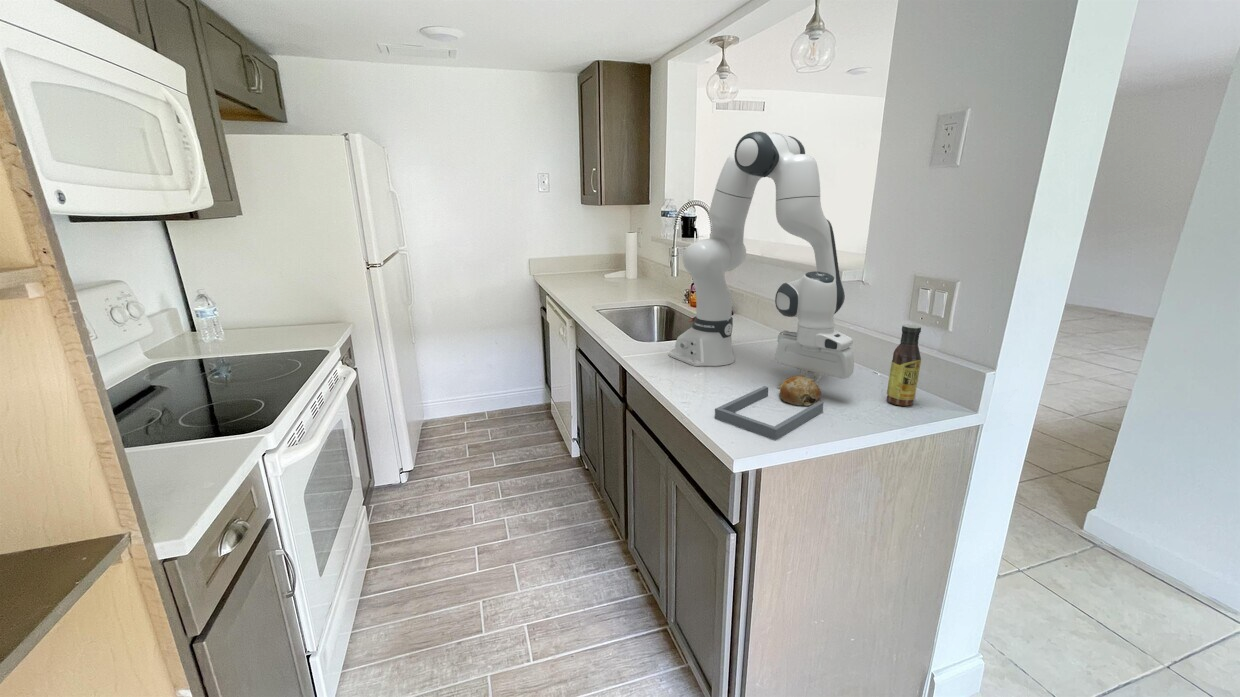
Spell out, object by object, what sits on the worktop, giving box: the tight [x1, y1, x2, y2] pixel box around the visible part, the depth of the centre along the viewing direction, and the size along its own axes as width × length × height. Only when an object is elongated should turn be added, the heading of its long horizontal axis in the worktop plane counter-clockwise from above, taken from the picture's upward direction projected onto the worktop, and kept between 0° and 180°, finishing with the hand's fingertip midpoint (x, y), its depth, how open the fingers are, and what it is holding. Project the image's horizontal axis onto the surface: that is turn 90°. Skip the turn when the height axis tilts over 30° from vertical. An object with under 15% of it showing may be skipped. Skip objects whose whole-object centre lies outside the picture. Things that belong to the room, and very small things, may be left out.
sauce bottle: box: [886, 324, 922, 407], centre depth 126 cm, size 7×6×20 cm
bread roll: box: [777, 375, 822, 407], centre depth 131 cm, size 10×10×8 cm
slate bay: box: [714, 385, 825, 441], centre depth 123 cm, size 16×21×2 cm
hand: (810, 386), depth 135 cm, fingers closed
